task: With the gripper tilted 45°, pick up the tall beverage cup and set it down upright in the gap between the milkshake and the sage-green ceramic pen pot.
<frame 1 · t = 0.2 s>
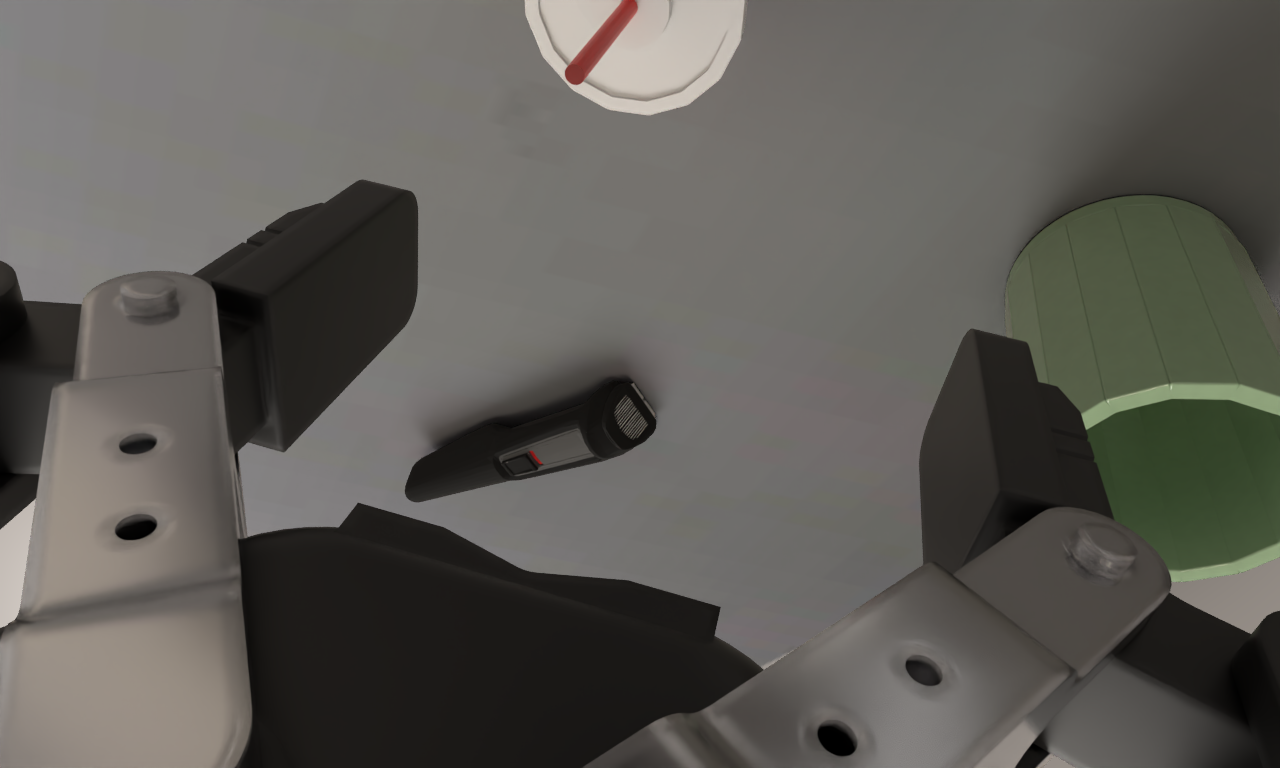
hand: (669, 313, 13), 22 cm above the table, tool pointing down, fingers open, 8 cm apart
pen pot: (1119, 290, 35), on the table
electric trimmer: (535, 432, 49), on the table
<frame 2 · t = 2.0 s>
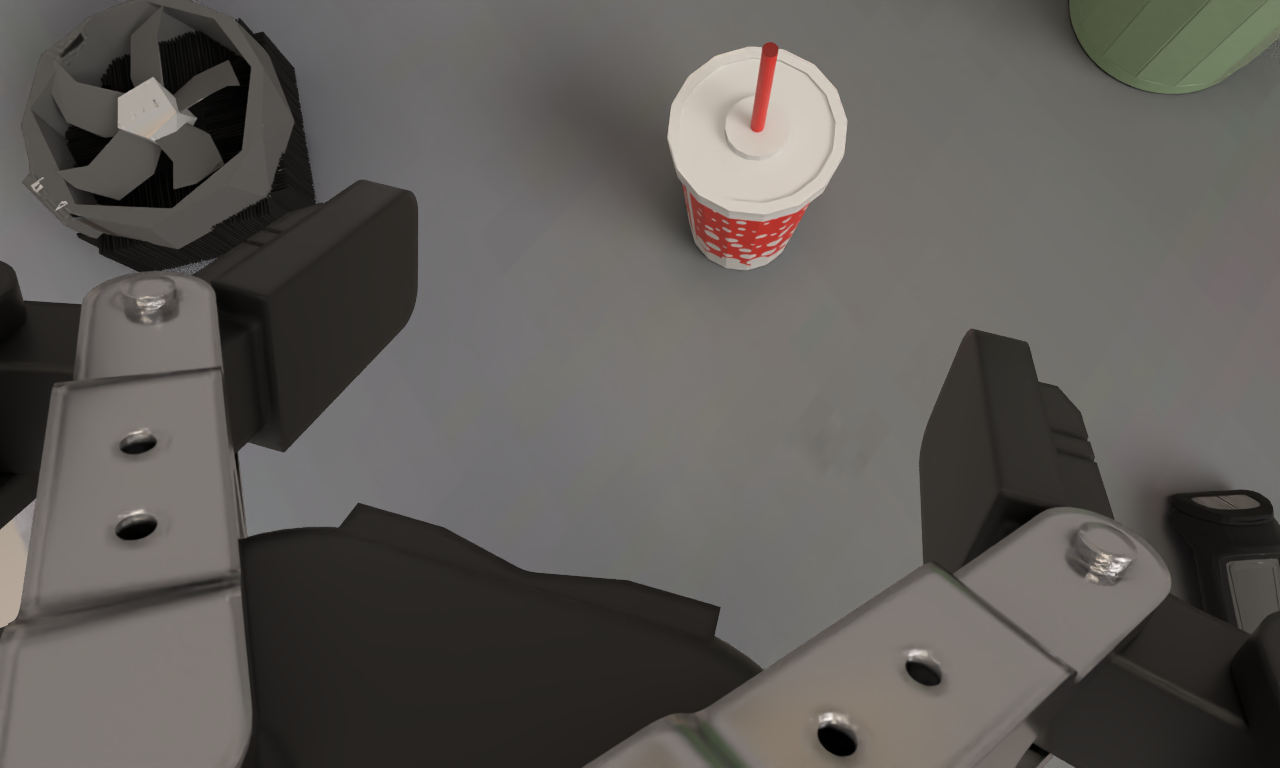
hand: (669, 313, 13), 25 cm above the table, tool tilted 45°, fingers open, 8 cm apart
pen pot: (1164, 7, 40), on the table
beverage cup: (741, 221, 39), on the table
cpu cooler: (215, 166, 41), on the table
electric trimmer: (1237, 680, 35), on the table
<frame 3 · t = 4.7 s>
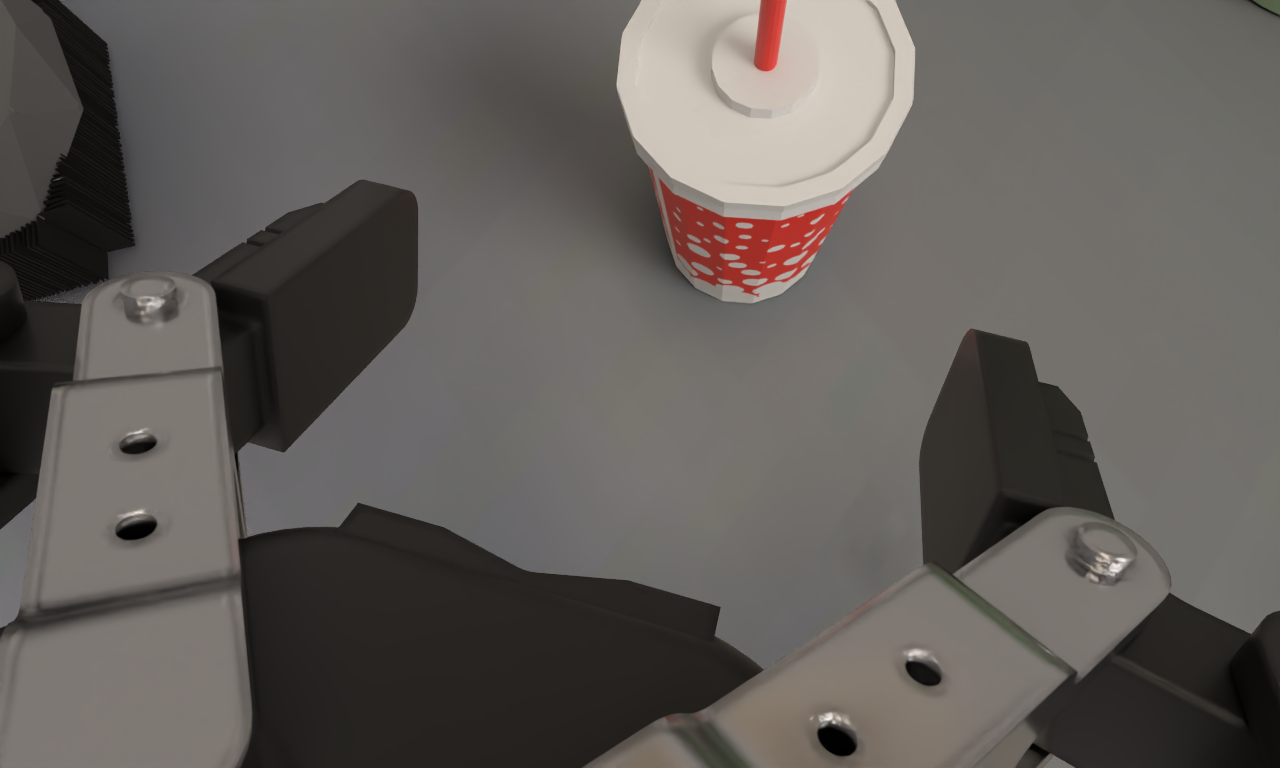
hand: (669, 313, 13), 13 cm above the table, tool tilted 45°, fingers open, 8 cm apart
beverage cup: (742, 233, 27), on the table
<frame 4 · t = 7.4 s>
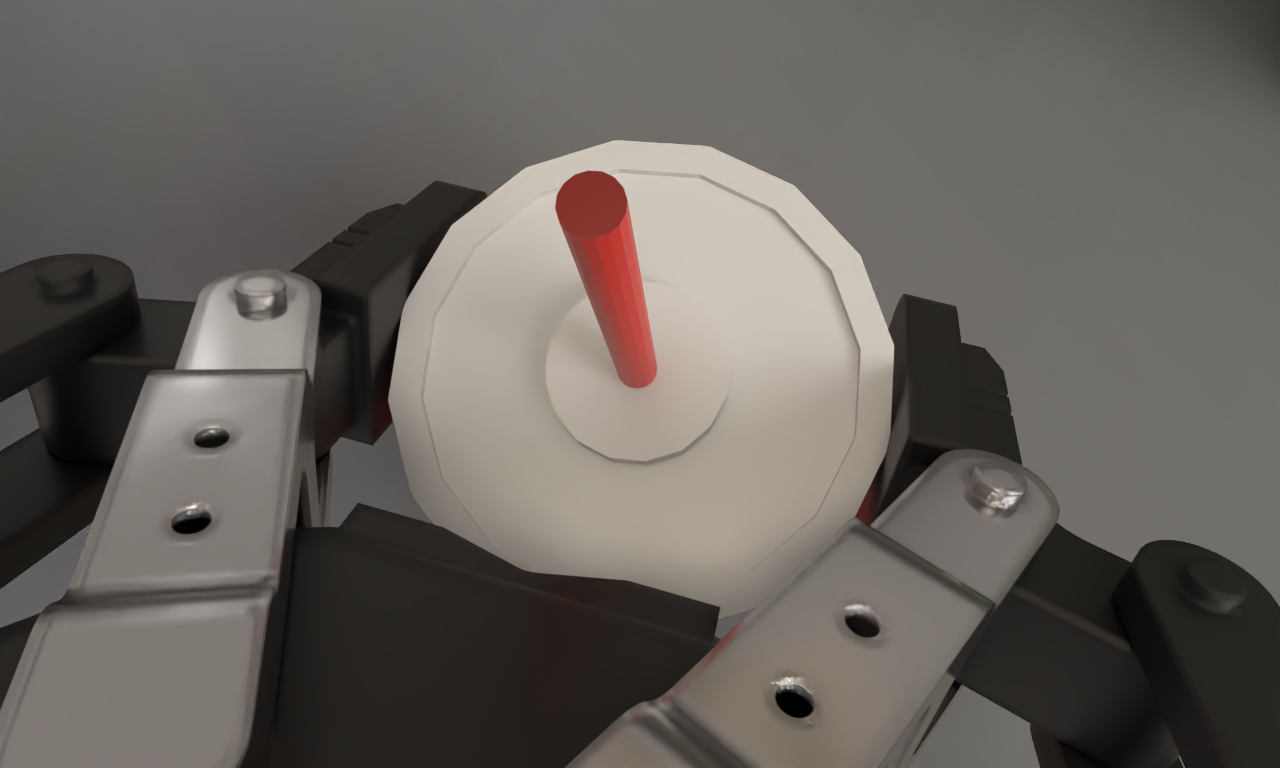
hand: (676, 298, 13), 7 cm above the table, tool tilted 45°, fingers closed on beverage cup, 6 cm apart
beverage cup: (663, 463, 20), on the table, touching gripper
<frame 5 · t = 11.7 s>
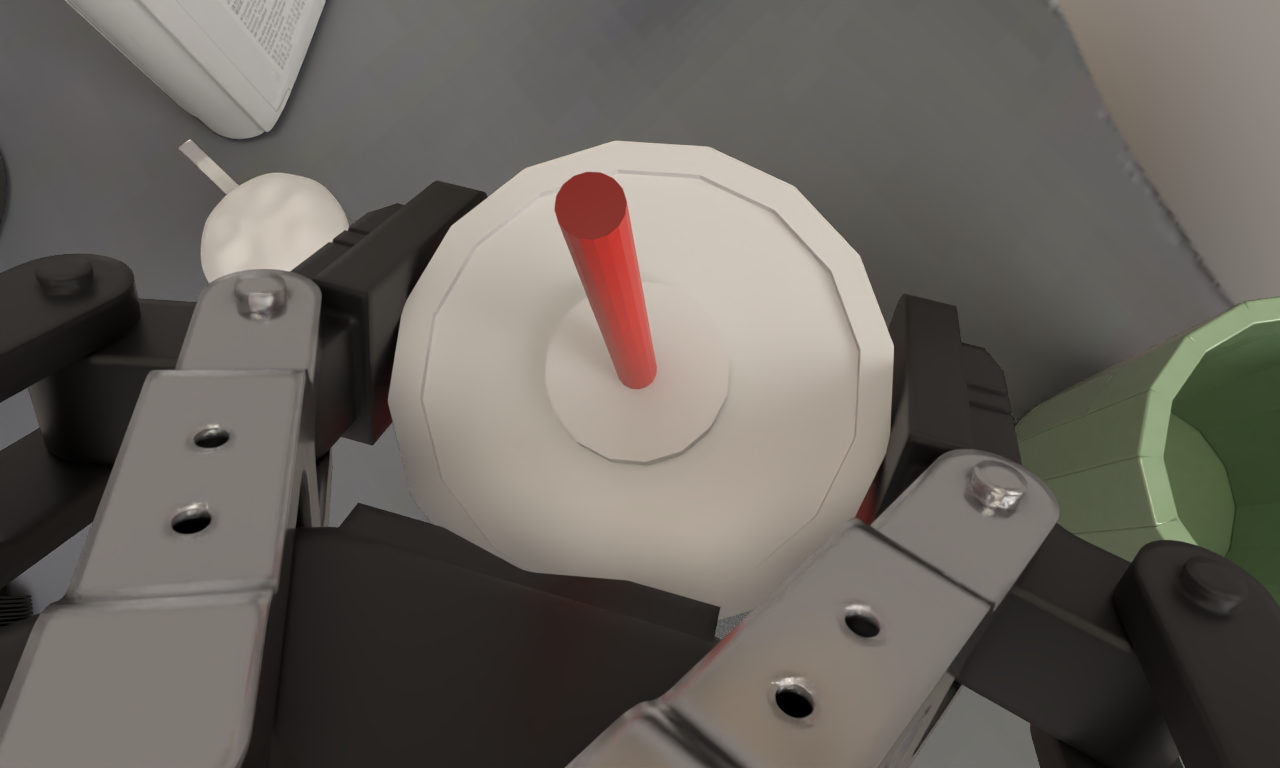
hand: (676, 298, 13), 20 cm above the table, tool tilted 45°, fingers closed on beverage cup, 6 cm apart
pen pot: (1113, 501, 31), on the table
milkshake: (367, 311, 35), on the table
beverage cup: (663, 463, 20), point 13 cm above the table, touching gripper
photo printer: (275, 35, 38), on the table
when the fingers open (7 cm above the table, at t = 16.3 s): beverage cup stays where it is, on the table.
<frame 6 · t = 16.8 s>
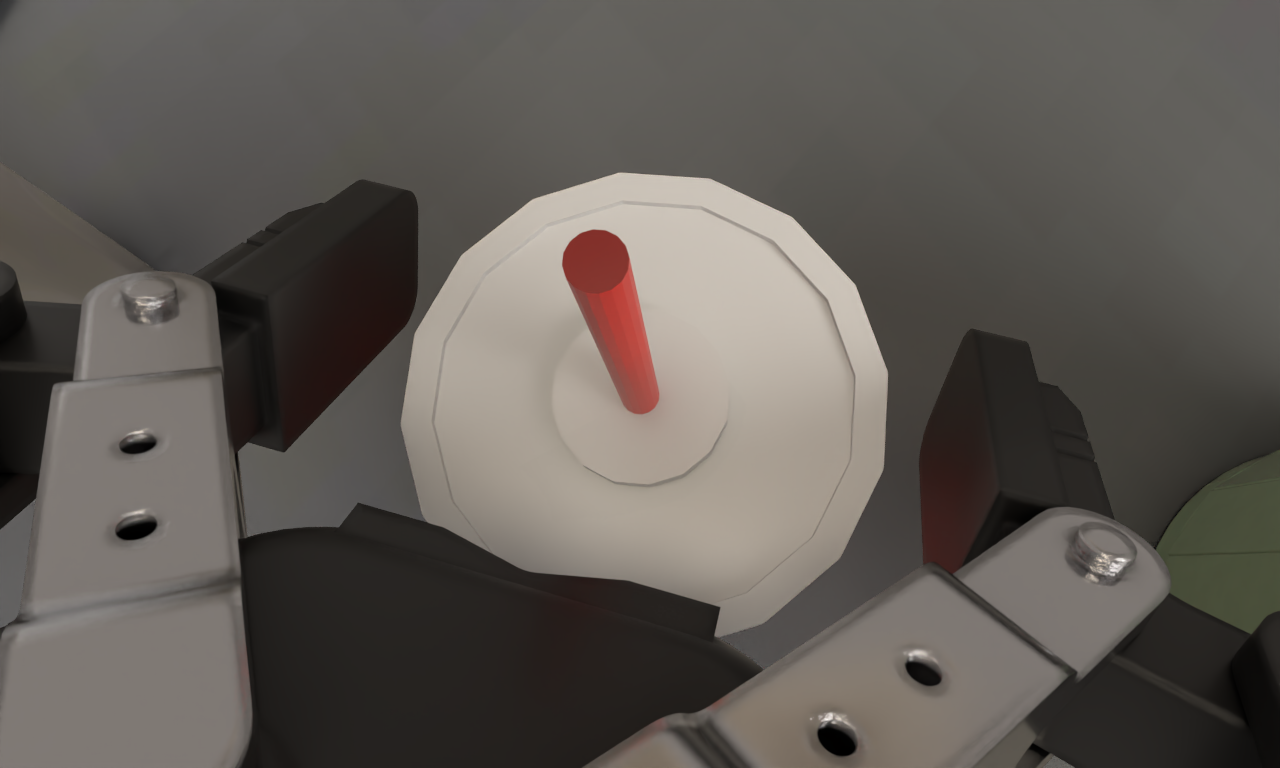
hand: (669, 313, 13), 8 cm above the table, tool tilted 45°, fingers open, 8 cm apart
milkshake: (113, 317, 22), on the table
beverage cup: (666, 475, 20), on the table
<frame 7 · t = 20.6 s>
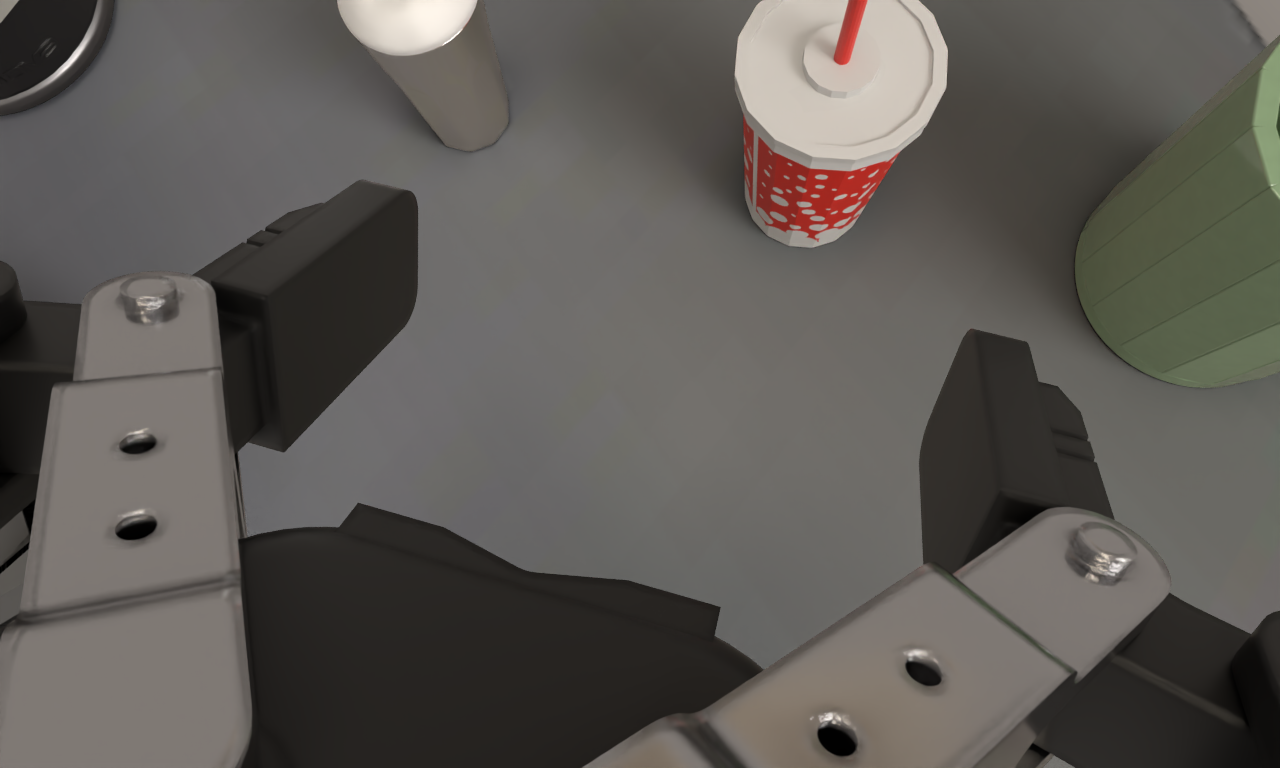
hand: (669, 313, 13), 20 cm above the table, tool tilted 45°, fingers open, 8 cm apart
pen pot: (1191, 276, 33), on the table
milkshake: (466, 111, 36), on the table
beverage cup: (803, 194, 34), on the table
cpu cooler: (50, 493, 34), on the table
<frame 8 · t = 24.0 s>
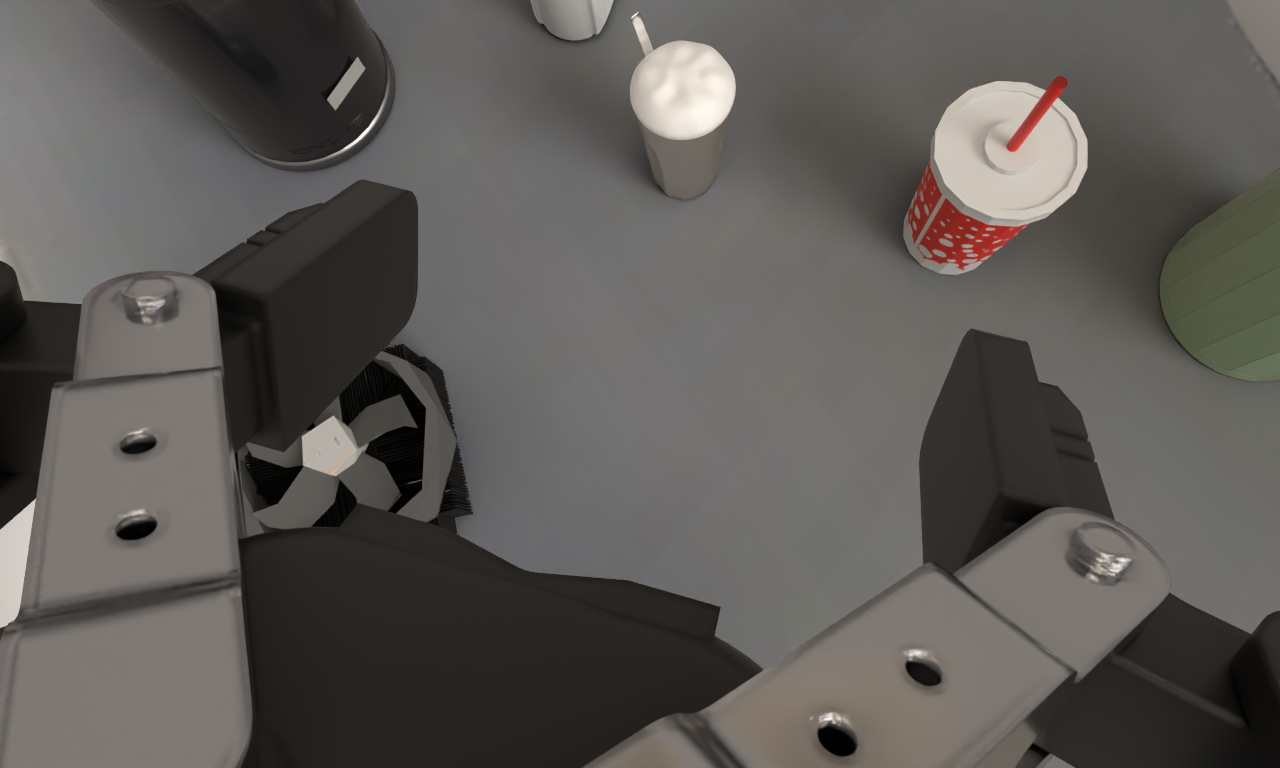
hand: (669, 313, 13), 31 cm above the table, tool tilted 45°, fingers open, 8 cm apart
pen pot: (1248, 297, 43), on the table
milkshake: (680, 167, 46), on the table
beverage cup: (947, 233, 45), on the table
cpu cooler: (372, 465, 44), on the table
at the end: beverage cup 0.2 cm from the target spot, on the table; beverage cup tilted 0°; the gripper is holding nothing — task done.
